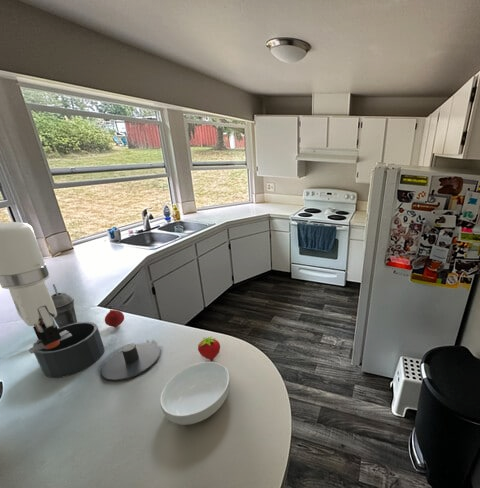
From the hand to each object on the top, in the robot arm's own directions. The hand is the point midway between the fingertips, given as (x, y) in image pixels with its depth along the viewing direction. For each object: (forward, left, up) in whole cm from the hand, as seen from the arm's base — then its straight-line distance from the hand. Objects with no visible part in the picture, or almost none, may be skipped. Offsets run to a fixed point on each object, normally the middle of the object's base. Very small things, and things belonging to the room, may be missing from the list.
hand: (49, 338), depth 64 cm
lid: (+15, -1, -19) cm, 24 cm away
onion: (+21, +24, -20) cm, 38 cm away
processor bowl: (+6, +16, -20) cm, 26 cm away
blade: (0, 0, -2) cm, 2 cm away
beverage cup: (+11, +37, -20) cm, 44 cm away
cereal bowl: (+17, -33, -20) cm, 42 cm away
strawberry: (+29, -22, -20) cm, 41 cm away
